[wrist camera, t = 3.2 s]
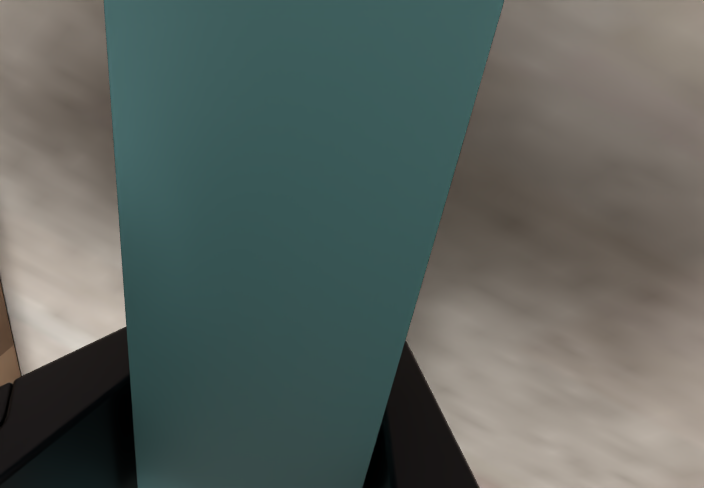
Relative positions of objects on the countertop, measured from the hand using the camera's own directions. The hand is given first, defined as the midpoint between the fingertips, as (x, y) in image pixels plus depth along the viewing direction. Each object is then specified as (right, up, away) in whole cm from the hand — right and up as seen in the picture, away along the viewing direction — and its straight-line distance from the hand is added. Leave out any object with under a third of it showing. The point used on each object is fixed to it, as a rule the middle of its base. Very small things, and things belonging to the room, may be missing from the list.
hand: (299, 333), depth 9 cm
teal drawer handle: (+1, +2, +4) cm, 4 cm away
